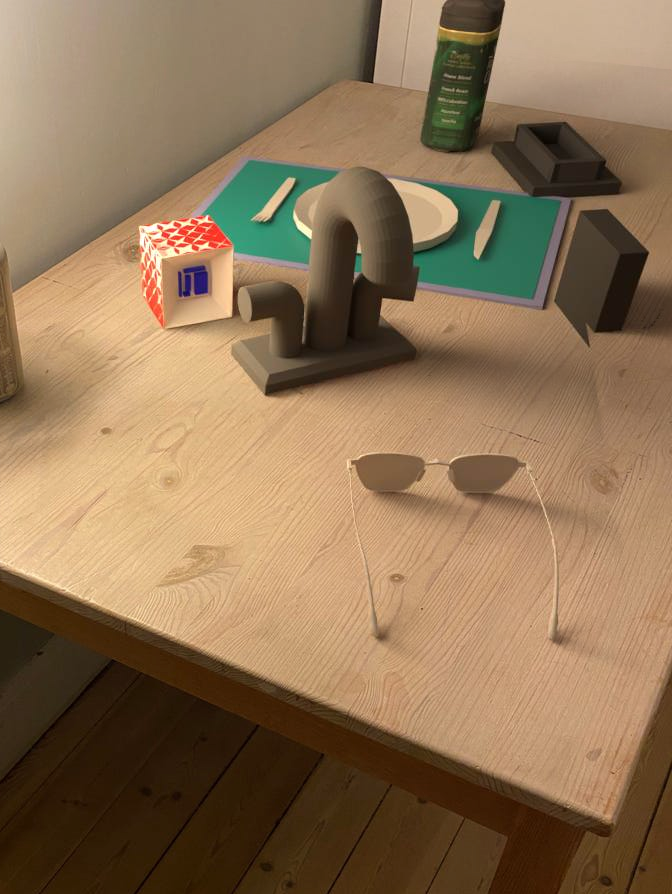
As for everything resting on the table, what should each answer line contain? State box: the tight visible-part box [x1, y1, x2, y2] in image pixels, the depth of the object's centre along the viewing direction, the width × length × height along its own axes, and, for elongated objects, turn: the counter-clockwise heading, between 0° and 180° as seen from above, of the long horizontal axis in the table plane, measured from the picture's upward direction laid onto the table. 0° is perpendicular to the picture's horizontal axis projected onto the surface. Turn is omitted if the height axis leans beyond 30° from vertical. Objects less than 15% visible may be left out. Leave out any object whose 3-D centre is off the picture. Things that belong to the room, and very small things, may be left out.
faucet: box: [230, 166, 420, 396], centre depth 88 cm, size 18×16×20 cm
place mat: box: [188, 155, 572, 311], centre depth 118 cm, size 45×30×2 cm
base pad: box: [490, 121, 623, 198], centre depth 128 cm, size 16×12×4 cm
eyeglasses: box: [346, 451, 560, 641], centre depth 75 cm, size 15×18×4 cm
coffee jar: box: [419, 0, 506, 153], centre depth 130 cm, size 10×8×19 cm
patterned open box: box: [138, 215, 235, 330], centre depth 102 cm, size 8×8×8 cm
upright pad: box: [553, 208, 650, 348], centre depth 98 cm, size 10×3×10 cm, turn 6°
